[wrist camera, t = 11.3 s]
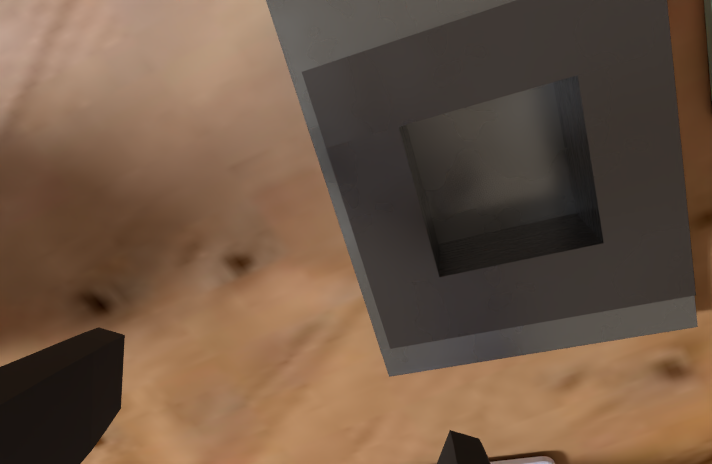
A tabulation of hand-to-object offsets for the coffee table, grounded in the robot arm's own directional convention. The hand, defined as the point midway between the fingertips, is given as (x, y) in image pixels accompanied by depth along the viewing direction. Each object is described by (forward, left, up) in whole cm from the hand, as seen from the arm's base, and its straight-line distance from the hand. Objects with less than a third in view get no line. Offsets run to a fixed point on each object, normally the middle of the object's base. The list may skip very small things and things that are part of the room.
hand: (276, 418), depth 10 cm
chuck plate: (+2, -6, -10) cm, 12 cm away
